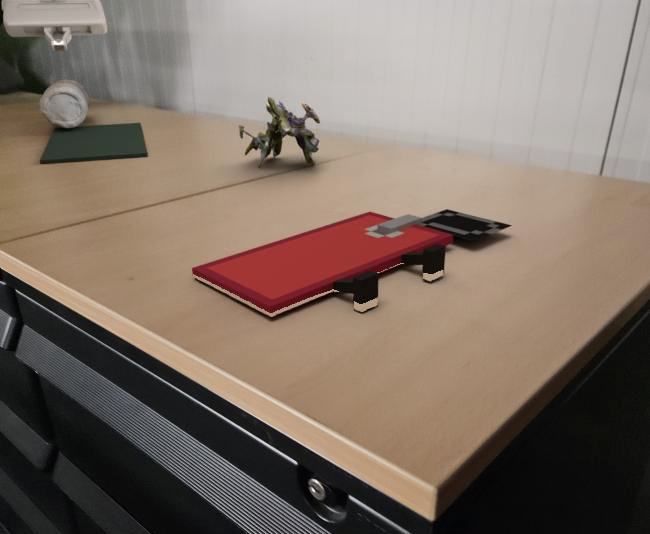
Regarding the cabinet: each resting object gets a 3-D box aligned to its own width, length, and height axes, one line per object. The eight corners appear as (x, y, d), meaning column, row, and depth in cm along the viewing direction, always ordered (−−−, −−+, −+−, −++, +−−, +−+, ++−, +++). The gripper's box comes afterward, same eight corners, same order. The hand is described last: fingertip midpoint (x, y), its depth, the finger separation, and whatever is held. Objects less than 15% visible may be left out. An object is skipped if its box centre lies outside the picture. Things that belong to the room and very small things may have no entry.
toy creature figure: (309, 199, 95) (339, 142, 86) (242, 195, 91) (266, 134, 81) (292, 145, 100) (319, 86, 91) (228, 139, 95) (249, 75, 86)
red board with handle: (527, 238, 63) (414, 209, 73) (531, 211, 61) (415, 185, 71) (302, 339, 45) (193, 282, 55) (301, 305, 44) (189, 252, 54)
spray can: (43, 76, 126) (33, 87, 109) (85, 75, 128) (82, 85, 111) (52, 119, 130) (43, 136, 113) (93, 117, 132) (90, 134, 115)
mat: (40, 164, 94) (39, 160, 94) (55, 130, 119) (54, 127, 119) (148, 156, 98) (147, 152, 98) (140, 125, 123) (140, 122, 123)
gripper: (-4, -16, 127) (1, 38, 123) (100, -17, 132) (108, 36, 128) (5, 8, 133) (9, 61, 129) (104, 6, 138) (111, 57, 134)
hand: (59, 48), depth 129 cm, fingers closed
